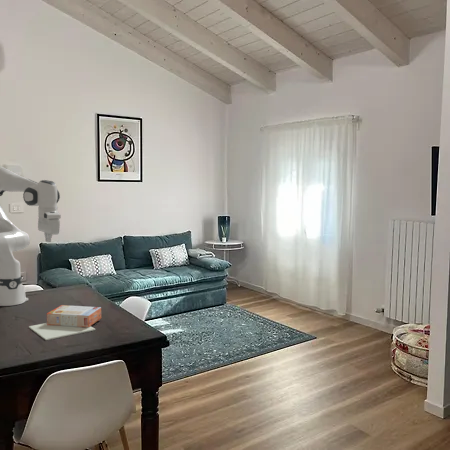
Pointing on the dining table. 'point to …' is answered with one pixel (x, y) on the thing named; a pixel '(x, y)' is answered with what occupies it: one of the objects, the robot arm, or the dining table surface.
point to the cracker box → (74, 316)
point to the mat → (58, 330)
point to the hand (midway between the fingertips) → (48, 241)
